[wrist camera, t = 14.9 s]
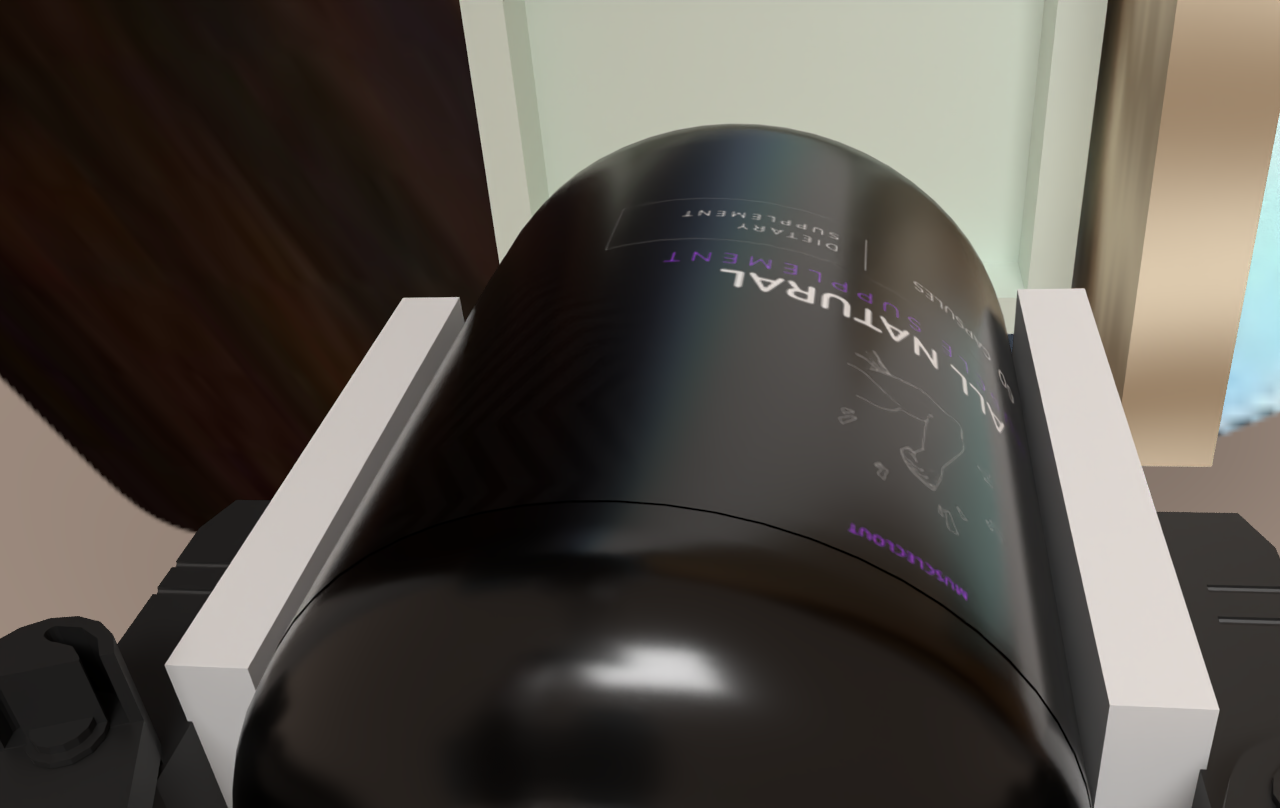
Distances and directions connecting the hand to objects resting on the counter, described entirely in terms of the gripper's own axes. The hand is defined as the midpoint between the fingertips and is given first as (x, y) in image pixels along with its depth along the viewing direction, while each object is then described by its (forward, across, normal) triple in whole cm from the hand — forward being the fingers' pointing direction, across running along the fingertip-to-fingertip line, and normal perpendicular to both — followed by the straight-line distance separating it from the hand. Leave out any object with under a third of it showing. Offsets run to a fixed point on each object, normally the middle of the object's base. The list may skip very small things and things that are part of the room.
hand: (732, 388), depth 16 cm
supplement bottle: (+1, 0, 0) cm, 1 cm away
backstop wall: (+17, +8, 0) cm, 18 cm away
